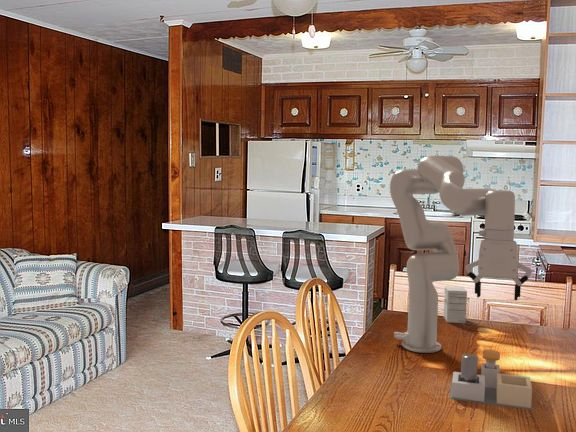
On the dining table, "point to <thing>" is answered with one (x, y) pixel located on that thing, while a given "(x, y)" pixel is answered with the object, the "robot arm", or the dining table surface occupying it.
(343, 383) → the dining table surface
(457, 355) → the dining table surface
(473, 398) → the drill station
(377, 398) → the dining table surface
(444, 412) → the dining table surface
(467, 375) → the grey rounded cylinder
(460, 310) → the supplement box
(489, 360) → the button
